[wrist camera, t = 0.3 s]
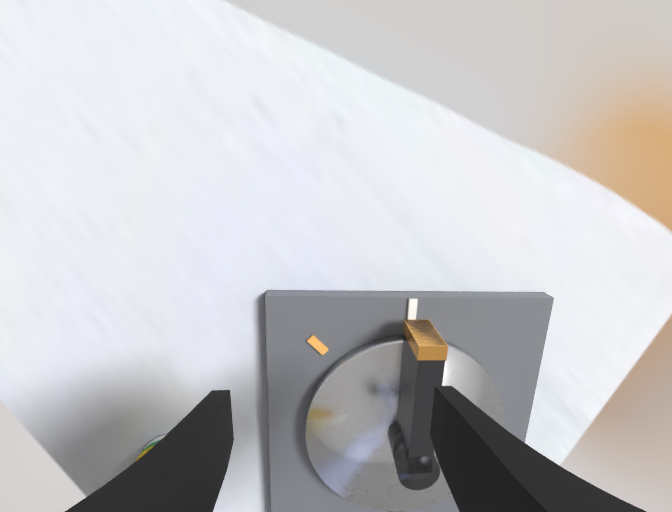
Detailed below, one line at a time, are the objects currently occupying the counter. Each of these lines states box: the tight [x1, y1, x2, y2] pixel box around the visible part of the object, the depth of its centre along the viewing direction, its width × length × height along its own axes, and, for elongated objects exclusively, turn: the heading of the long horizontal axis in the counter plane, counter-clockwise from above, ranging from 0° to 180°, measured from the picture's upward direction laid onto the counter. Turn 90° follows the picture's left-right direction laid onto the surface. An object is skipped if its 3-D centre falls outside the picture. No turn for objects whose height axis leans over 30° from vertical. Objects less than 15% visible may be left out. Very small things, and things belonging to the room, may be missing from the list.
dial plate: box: [265, 290, 554, 512], centre depth 23 cm, size 18×18×1 cm
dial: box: [305, 319, 504, 511], centre depth 21 cm, size 14×13×4 cm
